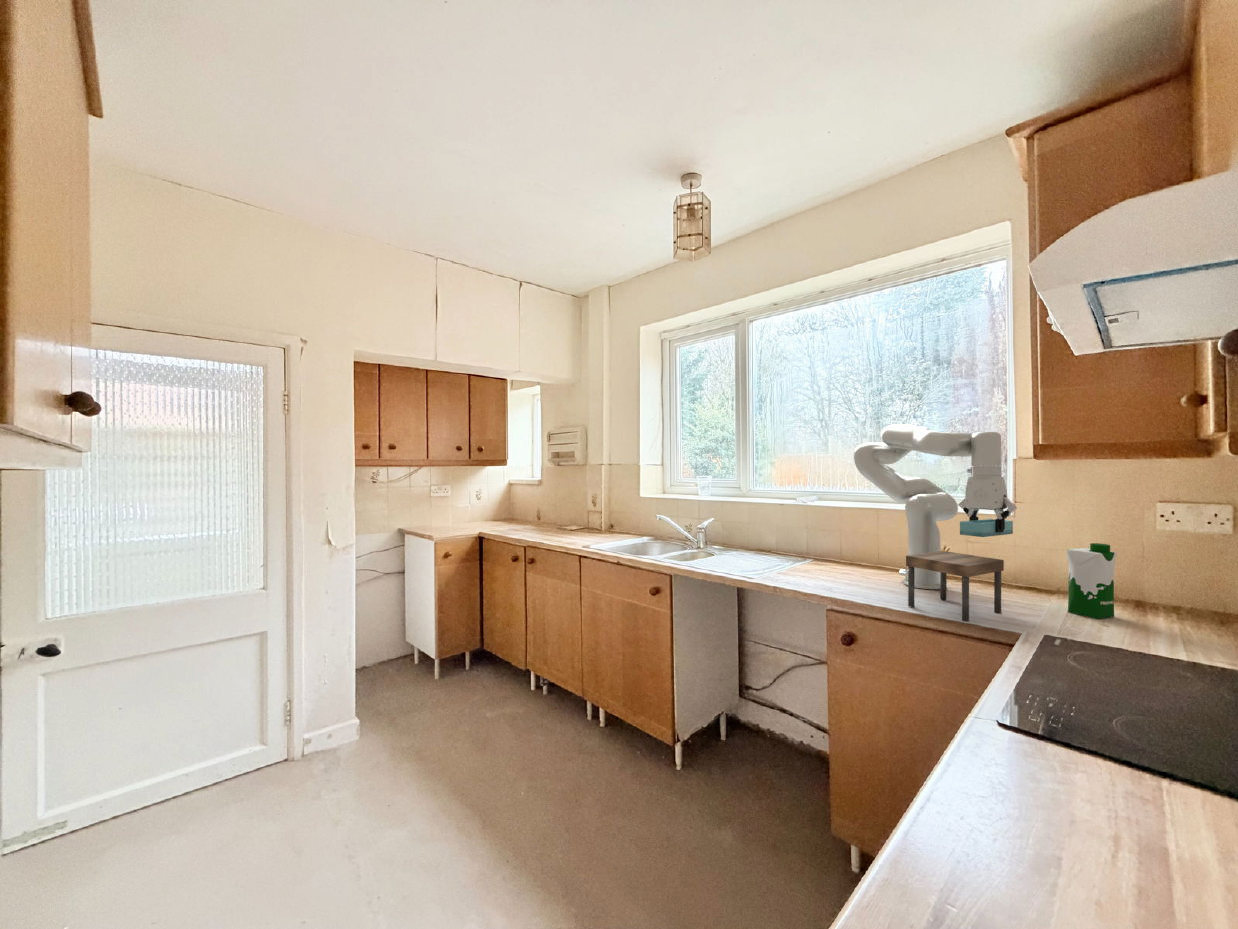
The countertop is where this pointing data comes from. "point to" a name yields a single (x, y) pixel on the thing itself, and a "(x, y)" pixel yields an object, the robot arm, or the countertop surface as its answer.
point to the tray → (984, 528)
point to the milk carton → (1091, 581)
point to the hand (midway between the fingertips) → (986, 530)
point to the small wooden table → (956, 573)
